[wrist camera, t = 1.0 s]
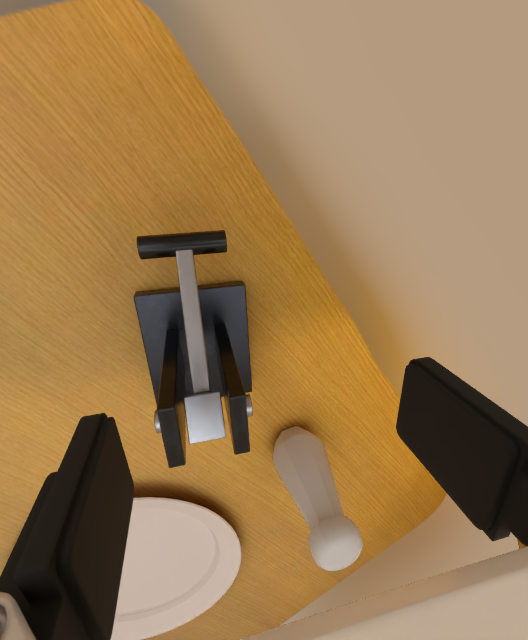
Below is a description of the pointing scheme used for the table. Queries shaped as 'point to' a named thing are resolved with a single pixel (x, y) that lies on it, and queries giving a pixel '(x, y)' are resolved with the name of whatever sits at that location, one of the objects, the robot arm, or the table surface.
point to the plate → (172, 566)
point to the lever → (192, 325)
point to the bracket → (173, 362)
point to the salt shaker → (316, 498)
